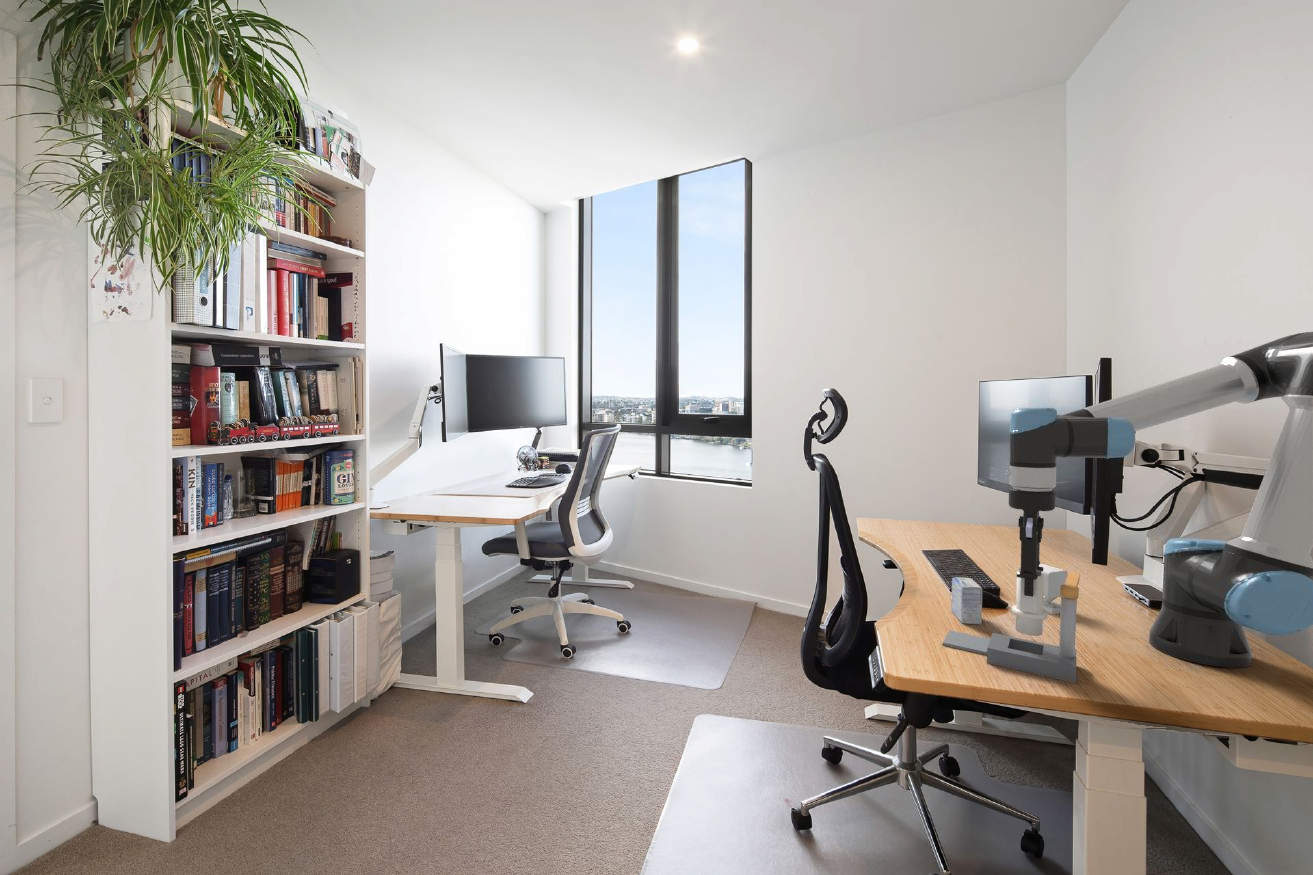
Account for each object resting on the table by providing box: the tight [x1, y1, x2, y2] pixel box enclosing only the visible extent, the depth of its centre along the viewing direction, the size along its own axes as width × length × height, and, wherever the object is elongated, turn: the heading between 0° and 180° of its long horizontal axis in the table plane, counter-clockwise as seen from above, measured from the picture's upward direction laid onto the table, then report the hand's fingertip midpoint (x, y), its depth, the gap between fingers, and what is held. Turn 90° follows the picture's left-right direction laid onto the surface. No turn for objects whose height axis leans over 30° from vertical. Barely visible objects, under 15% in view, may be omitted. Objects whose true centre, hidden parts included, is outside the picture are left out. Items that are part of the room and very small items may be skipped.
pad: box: [942, 630, 991, 656], centre depth 121 cm, size 8×8×1 cm
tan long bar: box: [1060, 571, 1081, 600], centre depth 113 cm, size 14×3×4 cm, turn 141°
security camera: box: [1039, 563, 1069, 615], centre depth 142 cm, size 6×7×10 cm
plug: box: [1011, 567, 1049, 637], centre depth 112 cm, size 6×6×12 cm
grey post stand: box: [986, 596, 1078, 684], centre depth 111 cm, size 14×9×14 cm, turn 54°
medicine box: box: [950, 576, 983, 626], centre depth 135 cm, size 8×4×9 cm, turn 168°
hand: (1029, 607), depth 112 cm, fingers closed on plug, 4 cm apart
